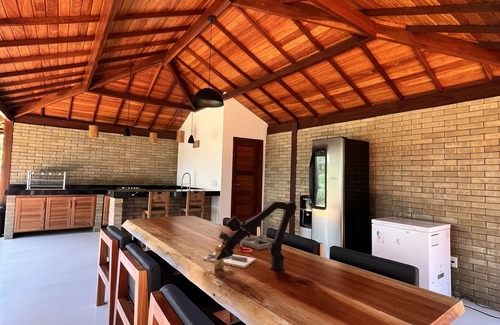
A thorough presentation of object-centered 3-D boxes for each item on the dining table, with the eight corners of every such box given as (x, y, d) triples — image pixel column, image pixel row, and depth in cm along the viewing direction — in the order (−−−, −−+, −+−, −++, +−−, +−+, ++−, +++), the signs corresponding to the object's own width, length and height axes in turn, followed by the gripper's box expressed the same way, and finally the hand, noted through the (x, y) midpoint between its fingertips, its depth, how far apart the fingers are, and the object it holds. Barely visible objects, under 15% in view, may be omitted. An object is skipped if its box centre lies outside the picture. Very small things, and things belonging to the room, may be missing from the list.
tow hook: (254, 251, 189) (242, 248, 192) (255, 232, 189) (243, 230, 193) (249, 254, 181) (237, 251, 185) (250, 235, 181) (238, 232, 185)
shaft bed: (255, 260, 167) (255, 255, 167) (244, 268, 152) (244, 262, 152) (216, 253, 179) (217, 248, 179) (203, 259, 164) (203, 254, 164)
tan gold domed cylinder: (225, 269, 149) (226, 245, 150) (217, 271, 146) (218, 247, 146) (220, 266, 153) (221, 243, 154) (212, 268, 150) (213, 245, 150)
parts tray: (279, 245, 204) (279, 241, 205) (258, 249, 190) (258, 245, 190) (260, 239, 221) (260, 235, 221) (239, 242, 207) (239, 239, 207)
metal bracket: (265, 238, 197) (248, 235, 206) (263, 246, 196) (247, 242, 205) (274, 240, 208) (258, 237, 217) (273, 248, 207) (257, 244, 216)
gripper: (227, 223, 160) (208, 242, 159) (228, 230, 142) (206, 251, 140) (240, 237, 161) (221, 255, 159) (242, 245, 142) (220, 266, 140)
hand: (217, 256), depth 150 cm, fingers open, 9 cm apart
